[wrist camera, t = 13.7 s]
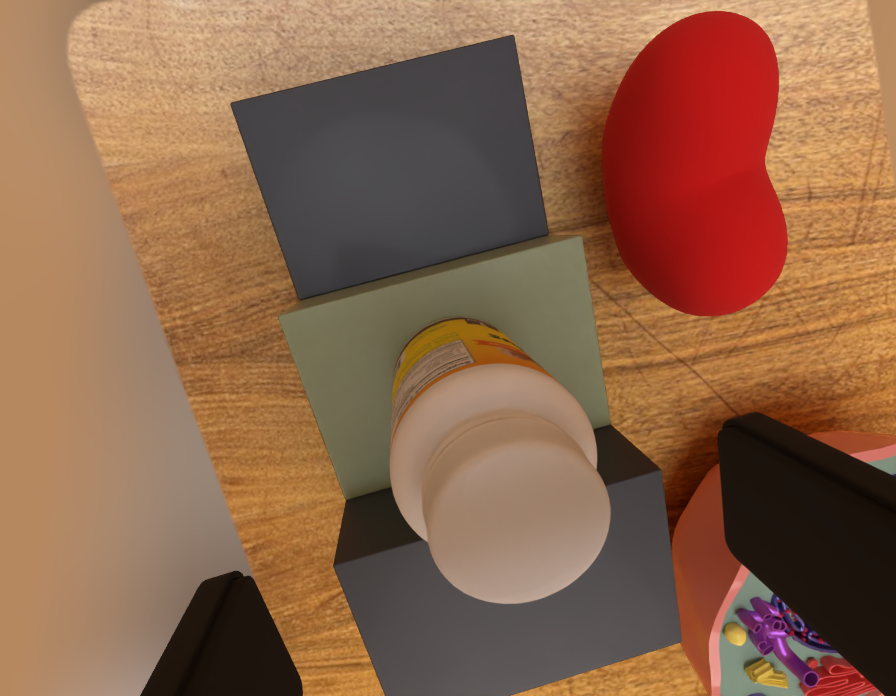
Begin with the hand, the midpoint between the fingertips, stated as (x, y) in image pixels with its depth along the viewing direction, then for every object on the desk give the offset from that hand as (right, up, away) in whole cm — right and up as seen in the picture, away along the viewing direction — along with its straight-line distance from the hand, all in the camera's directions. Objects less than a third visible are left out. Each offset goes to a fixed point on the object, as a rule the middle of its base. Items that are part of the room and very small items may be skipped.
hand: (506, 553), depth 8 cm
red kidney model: (+8, +13, +16) cm, 22 cm away
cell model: (+20, -8, +23) cm, 32 cm away
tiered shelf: (-1, +5, +17) cm, 18 cm away
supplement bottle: (-1, +3, +11) cm, 11 cm away
